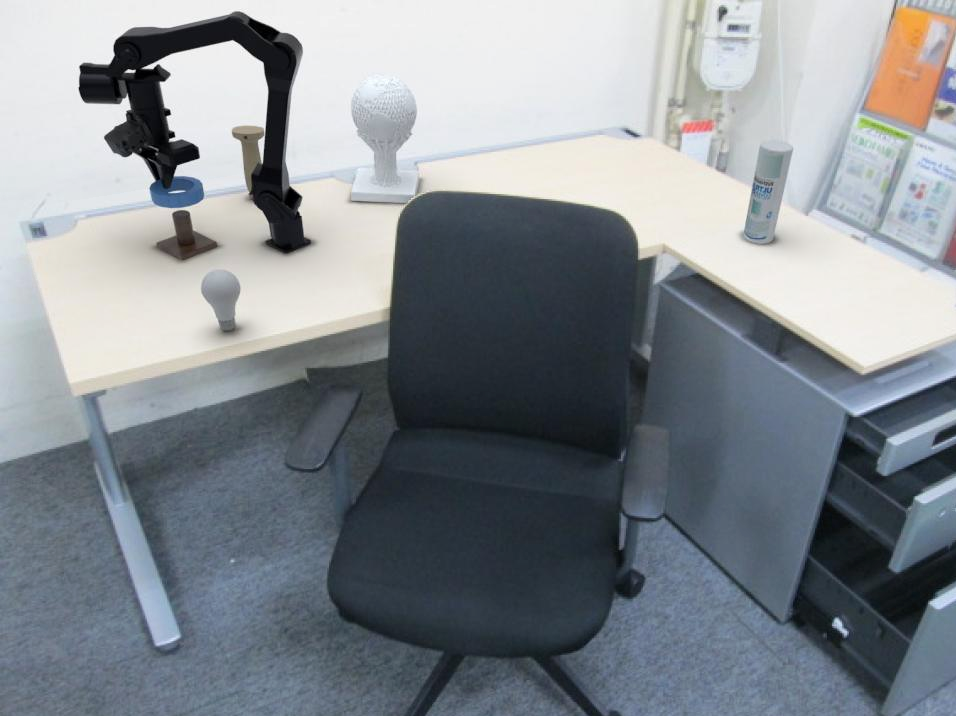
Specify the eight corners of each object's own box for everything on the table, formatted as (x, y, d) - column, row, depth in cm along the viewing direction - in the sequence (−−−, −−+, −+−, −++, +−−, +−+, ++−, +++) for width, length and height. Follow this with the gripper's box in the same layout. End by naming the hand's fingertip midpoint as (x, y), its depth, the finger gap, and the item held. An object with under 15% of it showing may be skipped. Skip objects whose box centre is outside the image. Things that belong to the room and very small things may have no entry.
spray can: (779, 238, 193) (799, 146, 182) (763, 247, 189) (782, 153, 178) (753, 228, 197) (771, 137, 185) (736, 236, 193) (754, 144, 181)
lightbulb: (213, 320, 156) (202, 262, 149) (250, 320, 156) (240, 262, 150) (205, 339, 151) (194, 280, 144) (243, 339, 151) (233, 280, 145)
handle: (270, 202, 196) (260, 134, 187) (239, 201, 195) (229, 133, 187) (274, 194, 200) (266, 126, 191) (245, 193, 199) (234, 125, 191)
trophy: (420, 179, 210) (418, 68, 196) (416, 203, 199) (413, 88, 184) (358, 176, 209) (351, 65, 195) (351, 201, 198) (343, 85, 183)
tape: (214, 197, 173) (212, 185, 171) (173, 212, 166) (171, 200, 165) (182, 183, 177) (180, 172, 175) (141, 198, 170) (139, 186, 169)
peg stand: (217, 246, 178) (211, 213, 174) (182, 260, 173) (175, 226, 169) (192, 234, 182) (186, 201, 178) (157, 247, 177) (149, 213, 173)
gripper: (76, 103, 163) (97, 186, 172) (137, 128, 154) (156, 214, 163) (132, 89, 170) (149, 169, 179) (193, 112, 161) (208, 195, 170)
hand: (164, 187), depth 173 cm, fingers closed on tape, 1 cm apart
